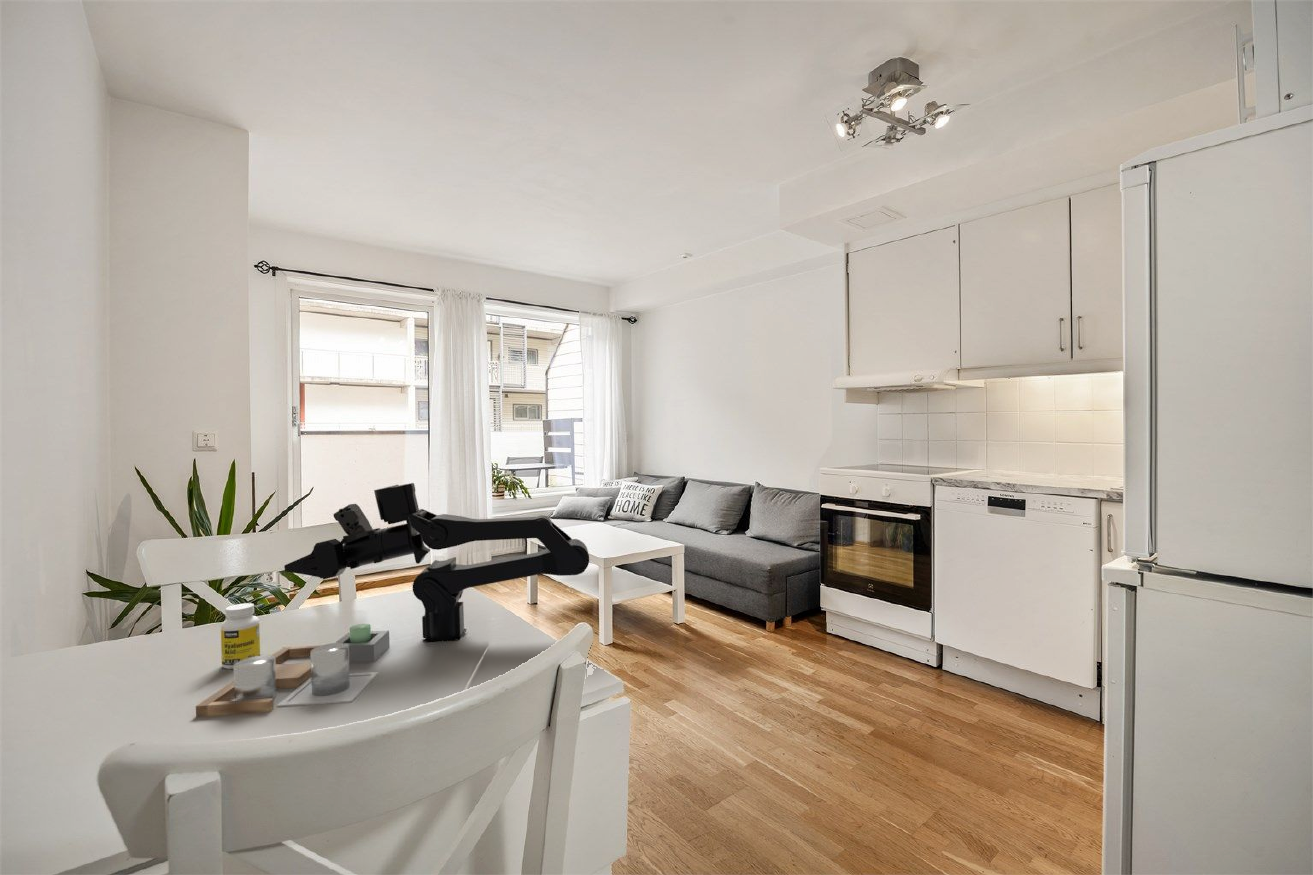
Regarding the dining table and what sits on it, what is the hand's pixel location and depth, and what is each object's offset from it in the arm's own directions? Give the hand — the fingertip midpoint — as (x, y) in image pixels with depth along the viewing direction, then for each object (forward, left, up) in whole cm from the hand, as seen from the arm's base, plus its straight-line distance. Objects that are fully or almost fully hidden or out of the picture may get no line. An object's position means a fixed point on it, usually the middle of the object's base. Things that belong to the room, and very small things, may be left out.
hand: (297, 564), depth 107 cm
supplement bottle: (+7, +5, -16) cm, 18 cm away
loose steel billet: (-14, +20, -15) cm, 28 cm away
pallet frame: (-4, +15, -15) cm, 22 cm away
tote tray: (-14, +20, -15) cm, 29 cm away
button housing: (-13, +6, -15) cm, 21 cm away
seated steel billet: (-5, +22, -15) cm, 27 cm away
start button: (-13, +6, -13) cm, 19 cm away
